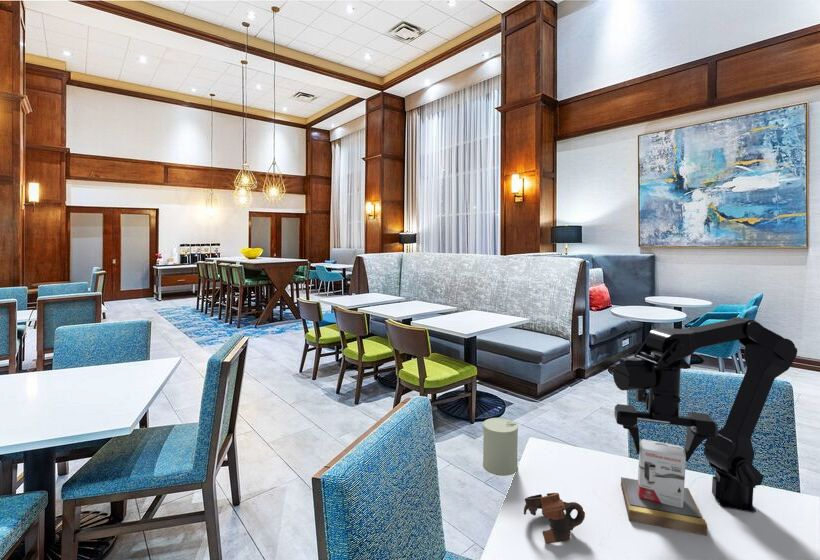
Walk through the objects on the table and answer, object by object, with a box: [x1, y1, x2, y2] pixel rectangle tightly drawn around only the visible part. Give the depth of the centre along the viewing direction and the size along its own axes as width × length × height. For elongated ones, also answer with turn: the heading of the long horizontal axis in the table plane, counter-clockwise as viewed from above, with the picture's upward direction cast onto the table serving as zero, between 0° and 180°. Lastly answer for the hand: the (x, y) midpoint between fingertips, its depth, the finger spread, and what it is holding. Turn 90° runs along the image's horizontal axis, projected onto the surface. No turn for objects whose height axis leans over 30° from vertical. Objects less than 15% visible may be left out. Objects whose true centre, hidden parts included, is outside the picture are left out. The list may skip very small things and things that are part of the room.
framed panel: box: [620, 477, 708, 536], centre depth 93 cm, size 14×14×2 cm
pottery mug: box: [523, 492, 586, 544], centre depth 87 cm, size 12×10×8 cm
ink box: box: [637, 438, 687, 508], centre depth 92 cm, size 9×5×12 cm, turn 63°
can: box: [482, 417, 519, 477], centre depth 110 cm, size 9×9×12 cm
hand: (661, 456), depth 92 cm, fingers open, 9 cm apart
